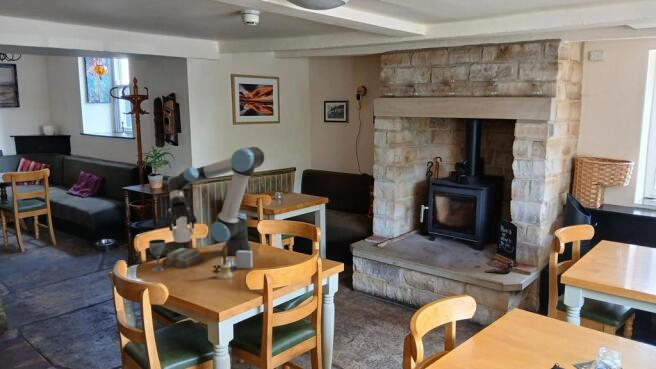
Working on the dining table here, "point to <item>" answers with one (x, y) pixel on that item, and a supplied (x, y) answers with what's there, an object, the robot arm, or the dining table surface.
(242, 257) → the medicine box
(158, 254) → the wine glass
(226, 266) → the hand bell
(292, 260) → the dining table surface
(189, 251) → the tiered stand
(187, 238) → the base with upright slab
